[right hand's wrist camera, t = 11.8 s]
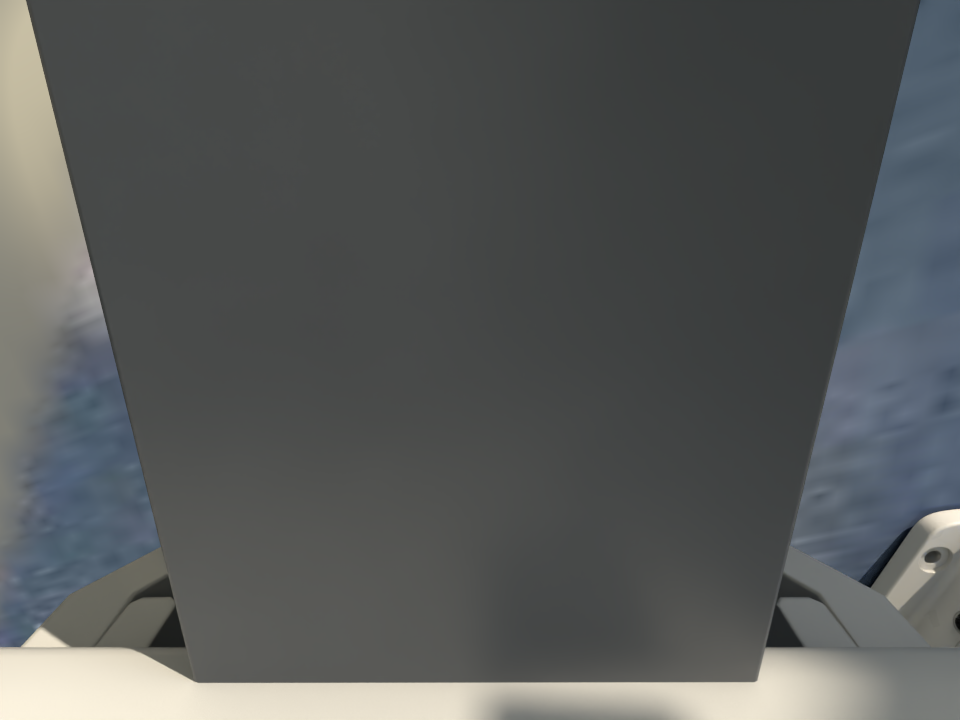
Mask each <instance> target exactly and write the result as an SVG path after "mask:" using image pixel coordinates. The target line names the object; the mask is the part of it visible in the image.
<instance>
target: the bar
mask: <svg viewBox="0 0 960 720" xmlns="http://www.w3.org/2000/svg"><path fill="white" fill-rule="evenodd" d="M26 1H27V6H28V10H29V14H30V18H31V22H32V26H33V30H34V34H35V38H36V42H37V46H38V50H39V54H40V58H41V63H42V67H43V71H44V74H45V79H46V83H47V87H48V91H49V95H50V99H51V103H52V107H53V111H54V115H55V119H56V123H57V127H58V131H59V135H60V139H61V143H62V148H63V152H64V156H65V160H66V164H67V168H68V172H69V176H70V180H71V184H72V188H73V192H74V196H75V200H76V204H77V208H78V212H79V216H80V220H81V224H82V228H83V233H84V237H85V241H86V245H87V249H88V253H89V257H90V261H91V265H92V269H93V273H94V277H95V281H96V285H97V289H98V293H99V297H100V301H101V305H102V309H103V313H104V318H105V322H106V326H107V330H108V334H109V338H110V342H111V346H112V350H113V354H114V358H115V362H116V366H117V370H118V374H119V378H120V382H121V386H122V390H123V394H124V399H125V403H126V407H127V411H128V415H129V419H130V423H131V427H132V431H133V435H134V439H135V443H136V447H137V451H138V455H139V459H140V463H141V467H142V471H143V475H144V479H145V484H146V488H147V492H148V496H149V500H150V504H151V508H152V512H153V516H154V520H155V524H156V528H157V532H158V536H159V540H160V544H161V548H162V552H163V556H164V560H165V564H166V569H167V573H168V577H169V581H170V585H171V589H172V593H173V597H174V601H175V605H176V609H177V613H178V617H179V621H180V625H181V629H182V633H183V637H184V641H185V645H186V649H187V654H188V658H189V662H190V666H191V670H192V674H193V678H194V682H197V683H569V682H756V681H757V680H758V676H759V672H760V667H761V663H762V659H763V655H764V651H765V647H766V642H767V638H768V634H769V630H770V626H771V622H772V617H773V613H774V609H775V605H776V601H777V596H778V592H779V588H780V584H781V580H782V576H783V571H784V567H785V563H786V559H787V555H788V551H789V546H790V542H791V538H792V534H793V530H794V525H795V521H796V517H797V513H798V509H799V505H800V500H801V496H802V492H803V488H804V484H805V480H806V475H807V471H808V467H809V463H810V459H811V454H812V450H813V446H814V442H815V438H816V434H817V429H818V425H819V421H820V417H821V413H822V409H823V404H824V400H825V396H826V392H827V388H828V384H829V379H830V375H831V371H832V367H833V363H834V358H835V354H836V350H837V346H838V342H839V338H840V333H841V329H842V325H843V321H844V317H845V313H846V308H847V304H848V300H849V296H850V292H851V287H852V283H853V279H854V275H855V271H856V267H857V262H858V258H859V254H860V250H861V246H862V242H863V237H864V233H865V229H866V225H867V221H868V217H869V212H870V208H871V204H872V200H873V196H874V191H875V187H876V183H877V179H878V175H879V171H880V166H881V162H882V158H883V154H884V150H885V146H886V141H887V137H888V133H889V129H890V125H891V120H892V116H893V112H894V108H895V104H896V100H897V95H898V91H899V87H900V83H901V79H902V75H903V70H904V66H905V62H906V58H907V54H908V49H909V45H910V41H911V37H912V33H913V29H914V24H915V20H916V16H917V12H918V8H919V4H920V0H26Z"/></svg>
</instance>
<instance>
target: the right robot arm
mask: <svg viewBox="0 0 960 720" xmlns="http://www.w3.org/2000/svg"><path fill="white" fill-rule="evenodd" d="M0 720H960V509H954V510H946V511H940V512H936V513H932V514H930V515H927V516H925V517H923V518H922V519H920V520H919V521H918V522H917V523H916V524H915V525H914V526H913V528H912V529H911V531H910V532H909V533H908V535H907V536H906V538H905V539H904V541H903V542H902V543H901V545H900V546H899V548H898V549H897V551H896V552H895V554H894V555H893V556H892V558H891V559H890V561H889V562H888V564H887V565H886V566H885V568H884V569H883V571H882V572H881V574H880V575H879V577H878V578H877V579H876V581H875V582H874V584H873V585H872V587H871V588H869V587H867V586H865V585H863V584H861V583H860V582H858V581H856V580H854V579H852V578H850V577H848V576H846V575H844V574H843V573H841V572H839V571H837V570H835V569H833V568H831V567H829V566H827V565H826V564H824V563H822V562H820V561H818V560H816V559H814V558H812V557H810V556H809V555H807V554H805V553H803V552H801V551H799V550H797V549H795V548H793V547H792V546H789V551H788V555H787V559H786V563H785V567H784V571H783V576H782V580H781V584H780V588H779V592H778V596H777V601H776V605H775V609H774V613H773V617H772V622H771V626H770V630H769V634H768V638H767V642H766V647H765V651H764V655H763V659H762V663H761V667H760V672H759V676H758V680H757V681H756V682H569V683H197V682H194V678H193V674H192V670H191V666H190V662H189V658H188V654H187V649H186V645H185V641H184V637H183V633H182V629H181V625H180V621H179V617H178V613H177V609H176V605H175V601H174V597H173V593H172V589H171V585H170V581H169V577H168V573H167V569H166V564H165V560H164V556H163V552H162V548H161V547H160V548H158V549H156V550H154V551H152V552H151V553H149V554H147V555H145V556H143V557H141V558H139V559H137V560H135V561H133V562H131V563H129V564H128V565H126V566H124V567H122V568H120V569H118V570H116V571H114V572H112V573H110V574H108V575H107V576H105V577H103V578H101V579H99V580H97V581H95V582H93V583H91V584H89V585H87V586H85V587H84V588H82V589H80V590H78V591H76V592H74V593H72V594H70V595H69V596H68V597H67V598H66V599H65V600H64V601H63V602H62V603H61V604H60V606H59V607H58V608H57V609H56V610H55V611H54V612H53V613H52V614H51V615H50V616H49V617H48V618H47V619H46V621H45V622H44V623H43V624H42V625H41V626H40V627H39V628H38V629H37V630H36V631H35V632H34V633H33V634H32V636H31V637H30V638H29V639H28V640H27V641H26V642H25V643H24V644H23V645H22V646H21V647H0Z"/></svg>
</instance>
